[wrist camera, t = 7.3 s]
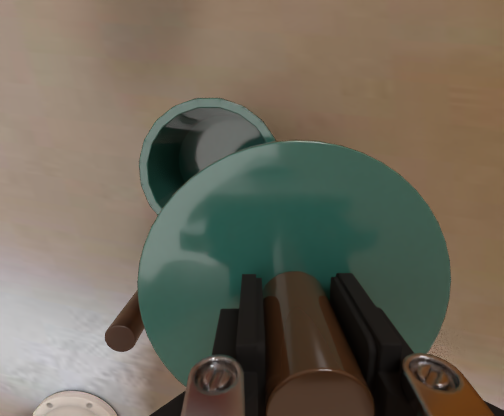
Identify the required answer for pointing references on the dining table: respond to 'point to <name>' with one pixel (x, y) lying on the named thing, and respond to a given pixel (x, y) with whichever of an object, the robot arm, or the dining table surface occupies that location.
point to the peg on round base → (125, 327)
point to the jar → (194, 143)
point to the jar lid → (293, 266)
